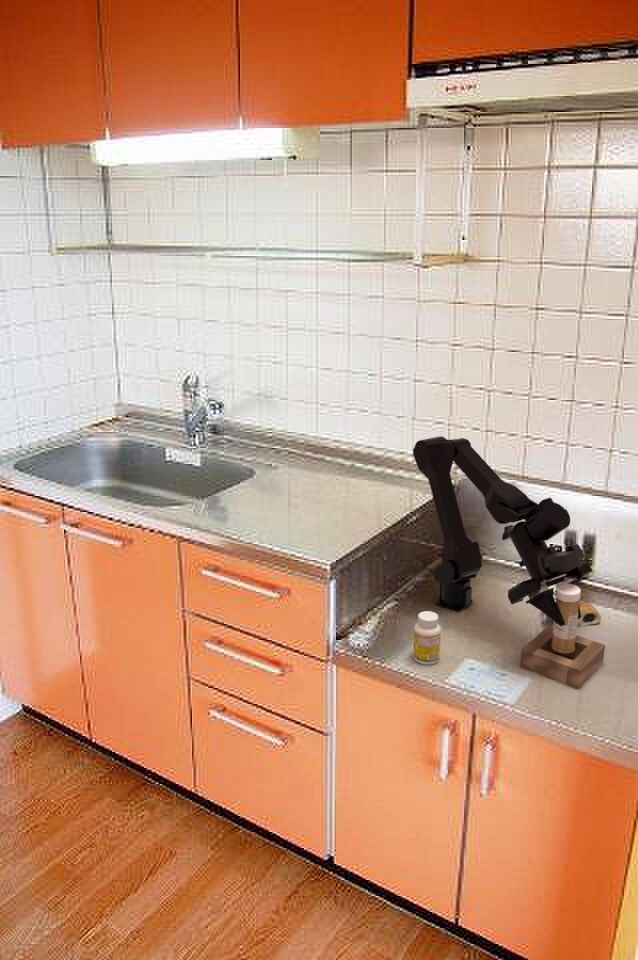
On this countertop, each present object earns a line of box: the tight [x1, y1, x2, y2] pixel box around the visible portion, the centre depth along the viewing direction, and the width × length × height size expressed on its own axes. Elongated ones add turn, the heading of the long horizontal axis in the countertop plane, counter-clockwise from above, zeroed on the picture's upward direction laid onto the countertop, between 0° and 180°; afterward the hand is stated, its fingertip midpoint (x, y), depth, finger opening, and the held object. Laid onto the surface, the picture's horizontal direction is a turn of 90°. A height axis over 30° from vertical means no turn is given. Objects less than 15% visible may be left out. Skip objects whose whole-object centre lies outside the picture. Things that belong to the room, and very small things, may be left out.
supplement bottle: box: [412, 610, 442, 666], centre depth 157 cm, size 5×5×10 cm
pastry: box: [577, 599, 602, 627], centre depth 175 cm, size 9×7×4 cm
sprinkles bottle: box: [551, 583, 582, 654], centre depth 153 cm, size 5×5×13 cm
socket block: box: [519, 625, 606, 690], centre depth 156 cm, size 12×12×4 cm
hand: (571, 622), depth 152 cm, fingers closed on sprinkles bottle, 4 cm apart
